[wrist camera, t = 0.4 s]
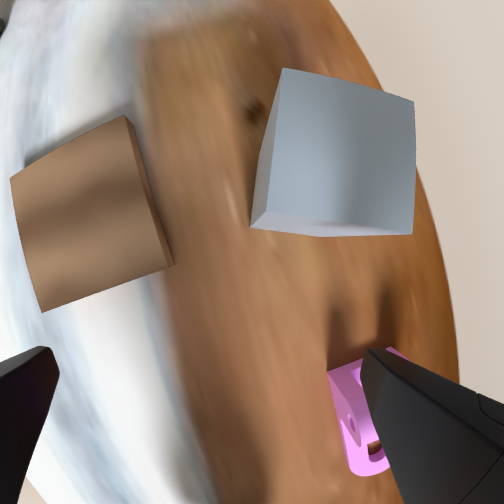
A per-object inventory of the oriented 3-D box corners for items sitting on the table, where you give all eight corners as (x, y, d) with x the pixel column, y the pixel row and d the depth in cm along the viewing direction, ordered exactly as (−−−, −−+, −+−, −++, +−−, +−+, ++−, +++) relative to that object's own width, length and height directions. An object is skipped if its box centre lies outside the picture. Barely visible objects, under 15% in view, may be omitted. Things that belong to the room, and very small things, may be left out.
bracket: (326, 370, 22) (357, 416, 15) (389, 345, 22) (436, 378, 15) (348, 475, 23) (371, 521, 16) (399, 453, 23) (430, 493, 16)
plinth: (174, 264, 21) (168, 267, 19) (55, 307, 20) (41, 313, 18) (132, 124, 20) (124, 114, 18) (23, 181, 20) (9, 178, 18)
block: (320, 237, 21) (412, 234, 9) (249, 227, 21) (265, 211, 9) (327, 168, 21) (414, 101, 9) (258, 157, 21) (282, 67, 9)
